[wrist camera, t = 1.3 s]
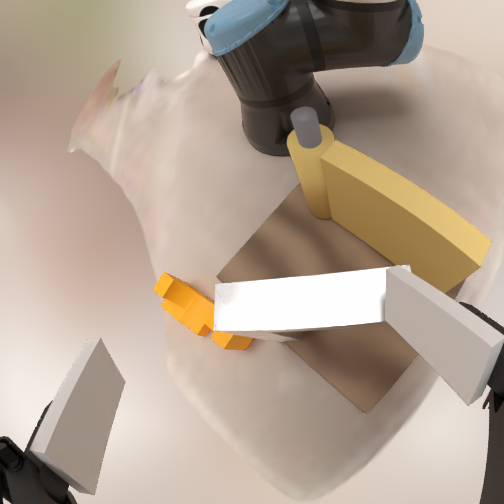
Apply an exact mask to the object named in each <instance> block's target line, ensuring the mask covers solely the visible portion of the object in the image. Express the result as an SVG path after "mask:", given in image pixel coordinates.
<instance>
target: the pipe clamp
mask: <svg viewBox="0 0 504 504" xmlns="http://www.w3.org/2000/svg"><path fill="white" fill-rule="evenodd" d="M153 290H154V291H156V292H157V293H158V294H159V295H160V296H161V297H162V298H165V300H164V302H163V304H162V305H161V306H162V307H163V308H164V309H165V310H167V311H168V312H169V313H170V314H171V315H172V316H173V317H174V318H175V319H177V320H178V321H179V322H181V323H182V324H184V325H185V326H187V327H188V328H189V329H191V330H192V331H193V332H194V333H196V334H197V335H200V336H206V335H207V334H208V332H209V331H210V329H211V330H212V331H213V335H212V337H211V339H212V340H213V341H214V342H216V343H217V344H218V345H219V346H221V347H222V348H223V349H231V350H246V349H247V347H248V346H249V345H250V343H251V342H252V340H253V339H254V338H251V337H245V336H240V335H234V334H229V333H224V332H218V331H214V302H213V301H212V300H210V299H209V298H208V297H206V296H205V295H204V294H202V293H201V292H200V291H198V290H197V289H196V288H194V287H193V286H192V285H190V284H188V283H186V282H184V281H182V280H180V279H178V278H176V277H174V276H172V275H170V274H167V273H165V272H163V274H162V276H161V277H160V279H159V280H158V282H157V284H156V285H155V287H154V288H153Z"/></svg>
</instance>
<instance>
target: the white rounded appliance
mask: <svg viewBox="0 0 504 504" xmlns="http://www.w3.org/2000/svg"><path fill="white" fill-rule="evenodd" d="M230 1H232V0H191V1H190V2H189V3H187V4H186V9H187V11H188V13H189V15H190V17H191V19H192V21H193V22H194V24H195V25H196V27H197V29H198V31H199V34H200V38H201V42H202V44H203V46H204V47H205V49H206V50H207V51H208V52H209V53H211V54H212V55H214V54H213V53H212V48H211V46H210V44H209V42H208V40H207V38H206V36H205V33H204V26H205V23H206V22H207V20H208V18H209V17H210V16H211V15H212V14H213V13H214V12H215V11H217V10H218V9H219V8H221V7H222V6H224V5H225V4H227V3H229V2H230Z"/></svg>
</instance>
